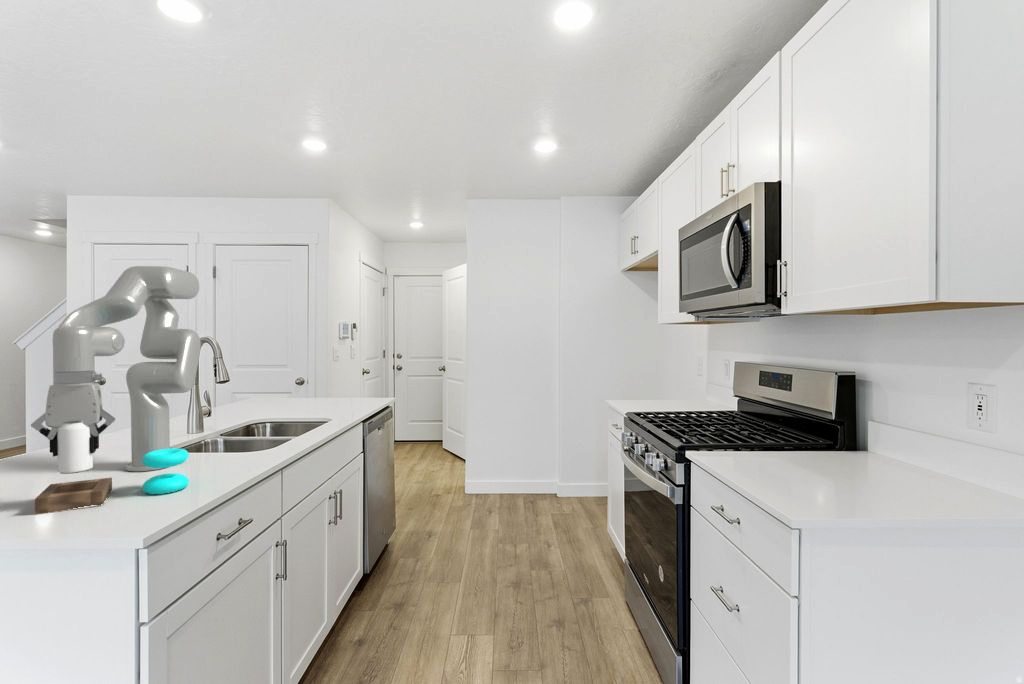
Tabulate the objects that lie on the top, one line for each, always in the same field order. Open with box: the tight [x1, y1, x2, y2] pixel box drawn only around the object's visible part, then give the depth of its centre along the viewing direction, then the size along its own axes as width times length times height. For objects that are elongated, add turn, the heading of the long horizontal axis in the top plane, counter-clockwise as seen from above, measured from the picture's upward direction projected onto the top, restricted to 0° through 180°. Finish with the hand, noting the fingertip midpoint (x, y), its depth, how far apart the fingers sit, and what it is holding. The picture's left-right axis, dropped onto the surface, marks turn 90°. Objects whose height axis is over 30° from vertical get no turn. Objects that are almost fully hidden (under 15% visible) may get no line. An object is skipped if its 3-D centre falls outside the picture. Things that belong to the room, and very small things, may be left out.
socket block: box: [34, 477, 113, 515], centre depth 124 cm, size 12×13×4 cm
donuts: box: [142, 447, 190, 495], centre depth 134 cm, size 10×10×10 cm
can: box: [57, 422, 94, 475], centre depth 124 cm, size 6×6×12 cm
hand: (74, 453), depth 124 cm, fingers closed on can, 6 cm apart
